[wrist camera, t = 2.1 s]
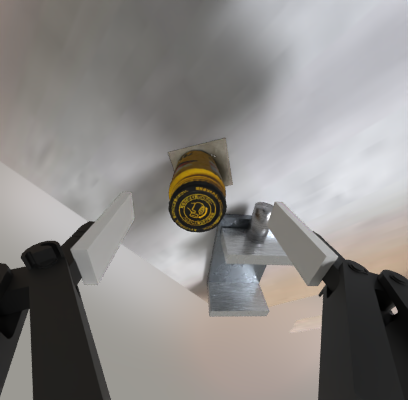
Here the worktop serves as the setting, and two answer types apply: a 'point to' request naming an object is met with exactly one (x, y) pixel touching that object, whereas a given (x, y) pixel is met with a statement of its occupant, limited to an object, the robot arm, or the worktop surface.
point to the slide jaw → (253, 241)
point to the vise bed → (234, 279)
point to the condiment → (199, 185)
